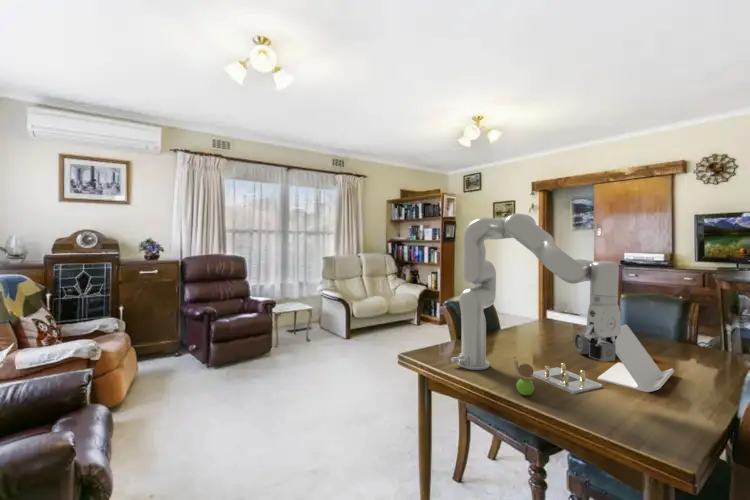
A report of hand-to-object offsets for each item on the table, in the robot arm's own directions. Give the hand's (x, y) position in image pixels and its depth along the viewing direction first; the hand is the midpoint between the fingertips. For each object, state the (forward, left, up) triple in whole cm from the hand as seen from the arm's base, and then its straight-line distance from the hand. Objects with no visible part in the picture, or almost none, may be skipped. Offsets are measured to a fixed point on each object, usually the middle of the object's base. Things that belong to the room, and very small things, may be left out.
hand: (601, 355), depth 115 cm
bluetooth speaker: (+42, +29, -14) cm, 53 cm away
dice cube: (0, 0, -1) cm, 1 cm away
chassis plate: (+1, +15, -14) cm, 20 cm away
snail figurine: (-21, +12, -14) cm, 28 cm away
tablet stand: (+28, +7, -14) cm, 32 cm away
